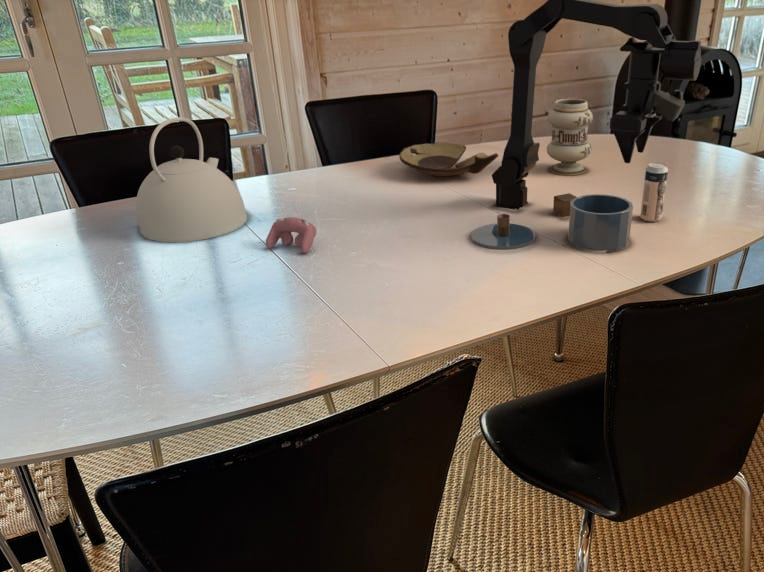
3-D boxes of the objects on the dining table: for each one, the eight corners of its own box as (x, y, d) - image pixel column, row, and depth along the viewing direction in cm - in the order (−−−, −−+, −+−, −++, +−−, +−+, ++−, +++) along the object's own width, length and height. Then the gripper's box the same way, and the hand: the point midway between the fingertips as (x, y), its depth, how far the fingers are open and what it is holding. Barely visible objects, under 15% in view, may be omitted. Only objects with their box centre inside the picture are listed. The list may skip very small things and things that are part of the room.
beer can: (661, 223, 147) (669, 168, 140) (639, 222, 148) (646, 167, 141) (661, 216, 151) (668, 162, 144) (639, 214, 152) (646, 161, 145)
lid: (459, 245, 137) (459, 221, 134) (489, 224, 147) (489, 201, 144) (518, 256, 132) (519, 231, 129) (545, 234, 142) (546, 211, 139)
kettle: (184, 201, 163) (160, 104, 151) (269, 206, 159) (251, 107, 147) (117, 238, 143) (83, 129, 131) (213, 245, 138) (187, 134, 127)
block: (562, 219, 150) (563, 201, 147) (552, 213, 153) (553, 195, 151) (578, 216, 151) (579, 198, 149) (568, 210, 154) (569, 193, 152)
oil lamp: (454, 156, 196) (453, 129, 192) (511, 180, 175) (512, 151, 171) (385, 168, 186) (383, 140, 182) (437, 195, 165) (436, 164, 161)
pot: (558, 246, 136) (560, 208, 132) (580, 227, 145) (583, 191, 141) (617, 257, 131) (621, 218, 127) (635, 236, 140) (640, 199, 136)
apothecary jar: (546, 163, 188) (549, 96, 179) (589, 164, 187) (595, 97, 178) (544, 175, 178) (547, 105, 169) (589, 177, 177) (595, 106, 167)
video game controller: (317, 255, 137) (320, 221, 136) (304, 253, 133) (308, 218, 132) (276, 249, 140) (279, 216, 139) (262, 247, 136) (266, 213, 135)
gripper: (671, 87, 120) (660, 174, 128) (695, 72, 134) (683, 151, 142) (612, 83, 125) (605, 167, 133) (641, 69, 138) (633, 145, 147)
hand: (634, 157), depth 138 cm, fingers open, 9 cm apart
